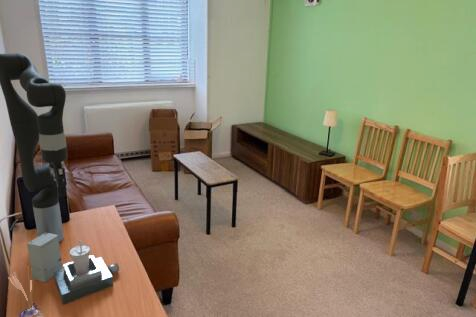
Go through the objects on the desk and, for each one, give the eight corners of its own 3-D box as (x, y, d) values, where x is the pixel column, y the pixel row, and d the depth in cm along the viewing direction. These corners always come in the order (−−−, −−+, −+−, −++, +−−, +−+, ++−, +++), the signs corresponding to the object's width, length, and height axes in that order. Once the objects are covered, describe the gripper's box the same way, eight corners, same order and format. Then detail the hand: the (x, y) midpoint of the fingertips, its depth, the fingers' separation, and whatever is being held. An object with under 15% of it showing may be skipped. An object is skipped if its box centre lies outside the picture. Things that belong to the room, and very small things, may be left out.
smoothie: (85, 281, 115) (81, 246, 110) (68, 278, 116) (63, 243, 111) (96, 269, 121) (92, 235, 116) (80, 266, 122) (76, 232, 117)
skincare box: (45, 283, 119) (39, 247, 113) (32, 279, 120) (25, 243, 115) (63, 268, 126) (58, 234, 121) (50, 265, 128) (45, 230, 123)
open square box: (55, 281, 119) (52, 265, 117) (112, 262, 131) (111, 246, 129) (63, 304, 110) (60, 287, 107) (124, 281, 122) (123, 265, 119)
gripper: (36, 141, 113) (43, 185, 118) (44, 153, 102) (51, 201, 108) (61, 138, 117) (66, 181, 123) (71, 150, 107) (76, 196, 112)
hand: (59, 190), depth 115 cm, fingers open, 8 cm apart
